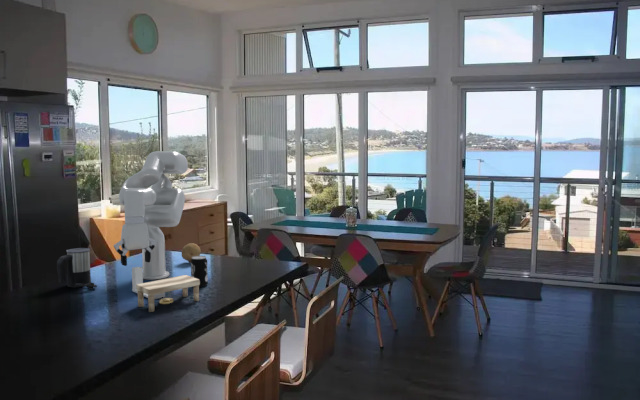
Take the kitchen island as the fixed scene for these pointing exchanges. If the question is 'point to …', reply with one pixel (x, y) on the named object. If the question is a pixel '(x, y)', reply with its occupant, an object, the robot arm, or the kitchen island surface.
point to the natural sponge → (190, 251)
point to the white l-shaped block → (141, 281)
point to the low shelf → (166, 288)
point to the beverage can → (199, 269)
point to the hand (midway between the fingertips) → (136, 263)
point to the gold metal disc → (166, 301)
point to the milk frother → (75, 268)
